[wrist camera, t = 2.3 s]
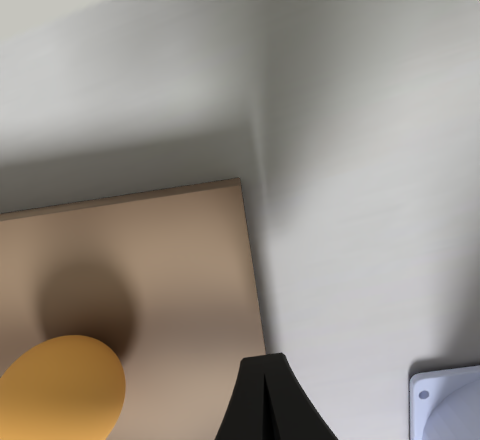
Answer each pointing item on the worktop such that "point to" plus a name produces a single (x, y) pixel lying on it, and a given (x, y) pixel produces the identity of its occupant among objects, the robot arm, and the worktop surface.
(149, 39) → the worktop surface
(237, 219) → the hole board
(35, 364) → the ball
